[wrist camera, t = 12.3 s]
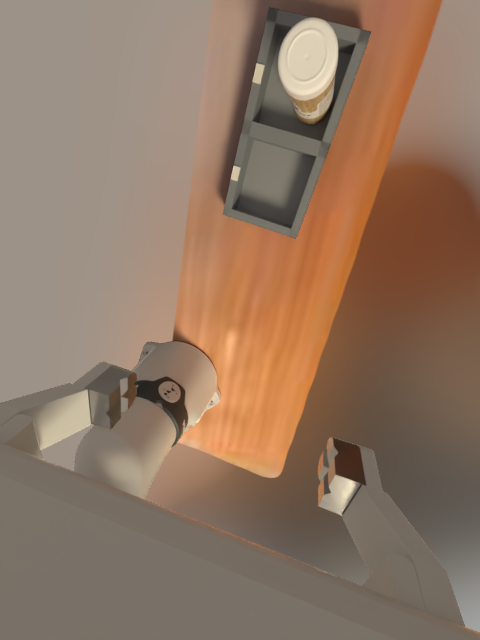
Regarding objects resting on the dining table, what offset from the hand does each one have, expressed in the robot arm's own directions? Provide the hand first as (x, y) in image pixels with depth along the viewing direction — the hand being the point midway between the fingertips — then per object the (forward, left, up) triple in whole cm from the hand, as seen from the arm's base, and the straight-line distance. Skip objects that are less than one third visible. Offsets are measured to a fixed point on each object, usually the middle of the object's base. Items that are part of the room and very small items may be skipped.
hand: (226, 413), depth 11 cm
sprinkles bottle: (+14, +10, -33) cm, 38 cm away
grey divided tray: (+10, +10, -33) cm, 36 cm away
